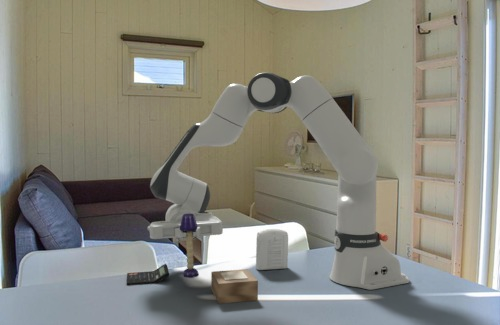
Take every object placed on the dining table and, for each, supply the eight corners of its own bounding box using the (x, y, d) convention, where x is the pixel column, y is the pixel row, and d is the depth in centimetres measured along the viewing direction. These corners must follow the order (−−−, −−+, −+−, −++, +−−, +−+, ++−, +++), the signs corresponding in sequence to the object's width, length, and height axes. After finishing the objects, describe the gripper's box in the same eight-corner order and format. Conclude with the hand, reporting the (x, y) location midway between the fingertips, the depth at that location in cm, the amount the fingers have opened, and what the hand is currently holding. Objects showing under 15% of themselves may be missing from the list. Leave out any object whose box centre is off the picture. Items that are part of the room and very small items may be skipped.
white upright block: (284, 265, 144) (285, 227, 143) (289, 269, 140) (290, 229, 139) (254, 267, 141) (254, 228, 140) (258, 271, 137) (258, 231, 136)
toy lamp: (195, 278, 118) (194, 216, 117) (178, 278, 118) (177, 215, 117) (200, 273, 122) (199, 212, 121) (183, 272, 123) (182, 212, 122)
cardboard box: (247, 287, 123) (247, 268, 123) (257, 300, 113) (257, 279, 113) (211, 290, 120) (211, 270, 120) (218, 303, 111) (218, 282, 110)
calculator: (127, 275, 133) (127, 265, 133) (167, 273, 136) (167, 263, 135) (126, 286, 124) (126, 275, 123) (169, 283, 127) (169, 272, 126)
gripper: (146, 215, 129) (149, 225, 116) (216, 211, 135) (226, 220, 121) (147, 237, 130) (149, 249, 116) (217, 232, 135) (227, 243, 122)
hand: (189, 234), depth 119 cm, fingers closed on toy lamp
